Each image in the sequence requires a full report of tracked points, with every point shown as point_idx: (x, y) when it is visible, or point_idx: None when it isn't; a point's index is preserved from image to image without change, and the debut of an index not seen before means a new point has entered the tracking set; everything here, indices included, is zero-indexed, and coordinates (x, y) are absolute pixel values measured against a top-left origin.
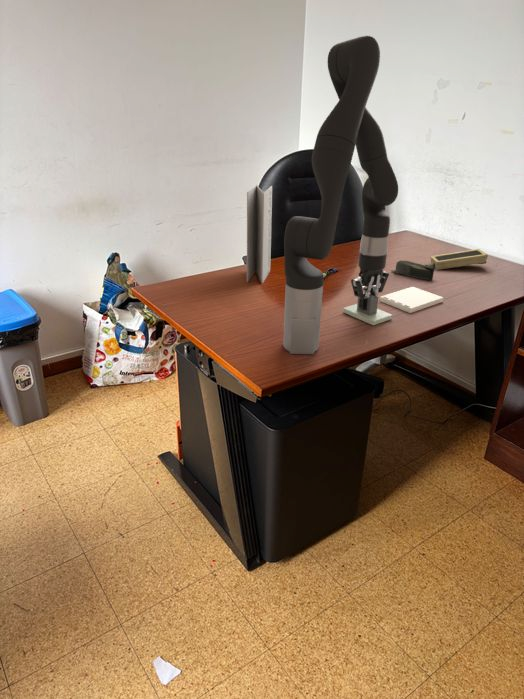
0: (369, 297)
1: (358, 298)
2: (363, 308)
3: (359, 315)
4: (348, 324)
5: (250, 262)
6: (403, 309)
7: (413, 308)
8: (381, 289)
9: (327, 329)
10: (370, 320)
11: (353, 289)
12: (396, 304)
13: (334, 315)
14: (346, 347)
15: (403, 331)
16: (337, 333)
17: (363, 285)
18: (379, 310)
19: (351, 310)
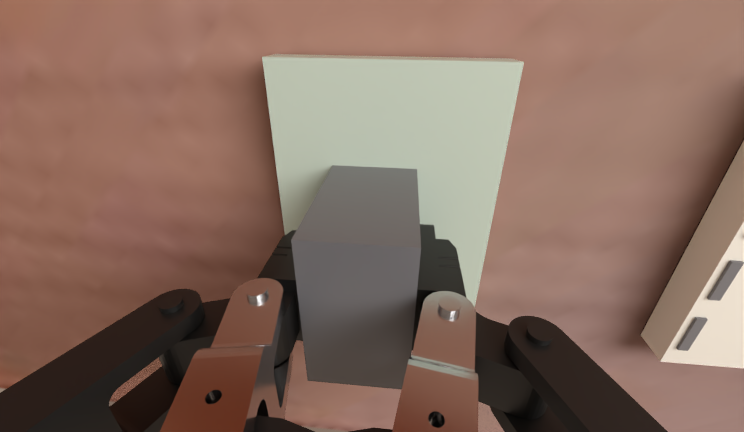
0: (329, 350)
1: (305, 220)
2: None
3: (286, 232)
4: (194, 220)
5: None
6: (667, 298)
7: (685, 359)
8: (518, 420)
9: (39, 193)
10: None
11: (53, 369)
12: (710, 253)
13: (183, 53)
14: (62, 351)
15: (384, 404)
16: (77, 256)
17: (256, 402)
18: (467, 268)
19: (289, 144)
